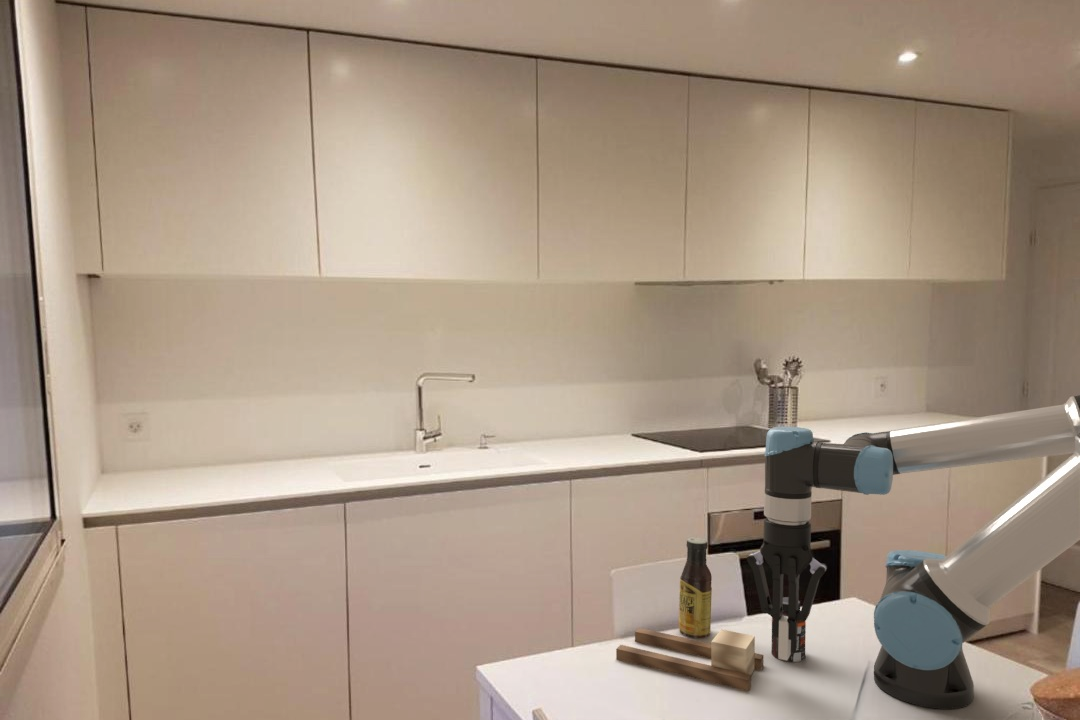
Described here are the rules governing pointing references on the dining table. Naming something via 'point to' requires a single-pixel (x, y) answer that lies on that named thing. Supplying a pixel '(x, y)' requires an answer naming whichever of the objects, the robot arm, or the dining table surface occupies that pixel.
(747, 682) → the walnut chute
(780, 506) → the robot arm
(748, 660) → the block
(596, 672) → the dining table surface
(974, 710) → the dining table surface
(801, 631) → the supplement bottle
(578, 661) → the dining table surface
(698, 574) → the sauce bottle
